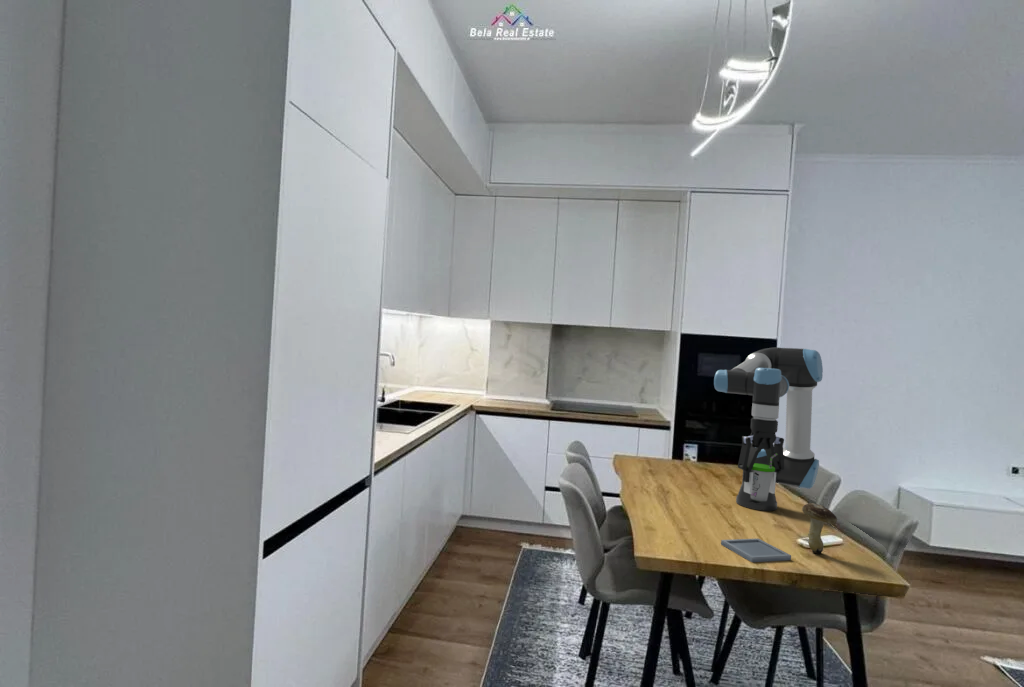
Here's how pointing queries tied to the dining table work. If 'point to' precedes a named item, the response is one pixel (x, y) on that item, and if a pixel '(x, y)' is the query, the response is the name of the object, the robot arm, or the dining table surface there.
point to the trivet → (755, 550)
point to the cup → (762, 480)
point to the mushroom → (817, 524)
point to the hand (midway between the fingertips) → (759, 492)
